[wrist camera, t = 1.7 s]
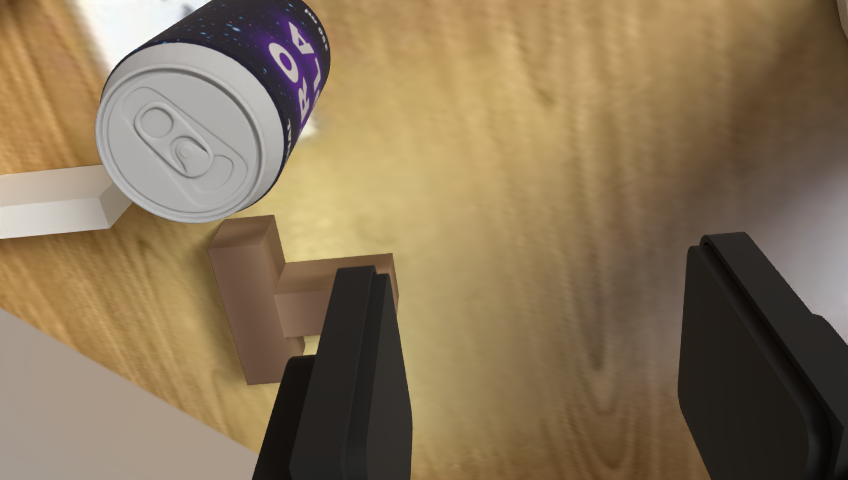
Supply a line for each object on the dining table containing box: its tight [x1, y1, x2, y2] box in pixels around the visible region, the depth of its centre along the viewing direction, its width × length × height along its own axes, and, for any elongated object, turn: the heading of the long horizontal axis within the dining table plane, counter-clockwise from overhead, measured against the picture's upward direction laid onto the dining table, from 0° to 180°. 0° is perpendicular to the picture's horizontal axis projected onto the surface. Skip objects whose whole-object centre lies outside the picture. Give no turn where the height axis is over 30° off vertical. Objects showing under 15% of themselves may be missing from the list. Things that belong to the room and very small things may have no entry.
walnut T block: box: [207, 215, 399, 385], centre depth 35 cm, size 8×8×3 cm
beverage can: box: [95, 0, 330, 224], centre depth 26 cm, size 6×6×12 cm
